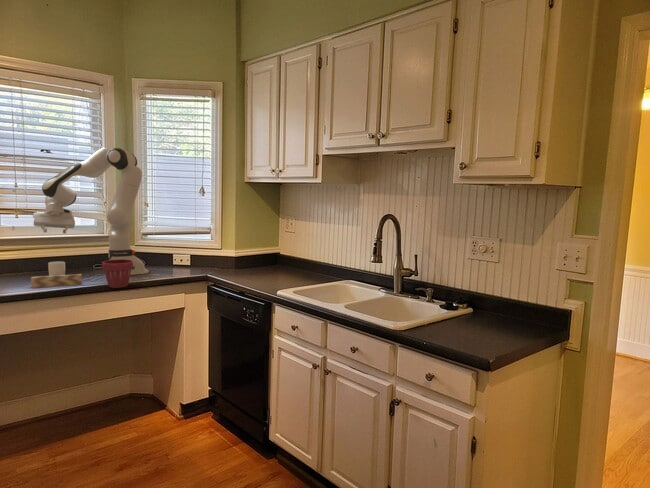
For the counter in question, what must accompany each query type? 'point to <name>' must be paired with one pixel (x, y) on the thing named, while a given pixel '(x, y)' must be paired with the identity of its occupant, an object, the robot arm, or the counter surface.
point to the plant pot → (117, 272)
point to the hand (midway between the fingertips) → (55, 232)
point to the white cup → (56, 268)
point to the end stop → (56, 280)
